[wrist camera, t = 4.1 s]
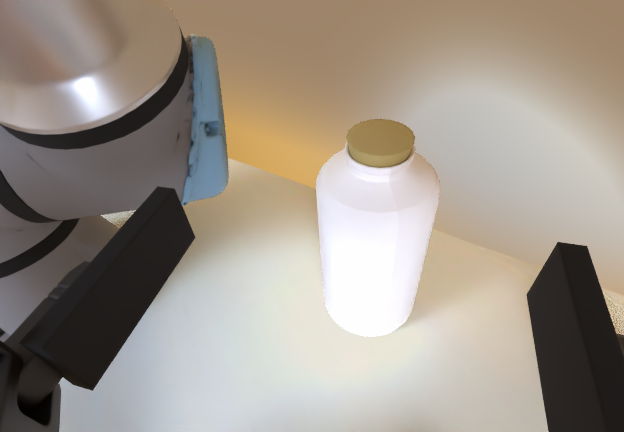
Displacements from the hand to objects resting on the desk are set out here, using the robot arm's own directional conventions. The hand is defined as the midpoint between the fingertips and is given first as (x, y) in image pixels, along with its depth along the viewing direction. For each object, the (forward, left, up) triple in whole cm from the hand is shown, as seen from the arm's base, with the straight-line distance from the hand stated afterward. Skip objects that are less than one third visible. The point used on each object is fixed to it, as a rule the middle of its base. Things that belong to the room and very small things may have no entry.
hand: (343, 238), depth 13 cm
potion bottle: (-7, +8, -21) cm, 23 cm away
